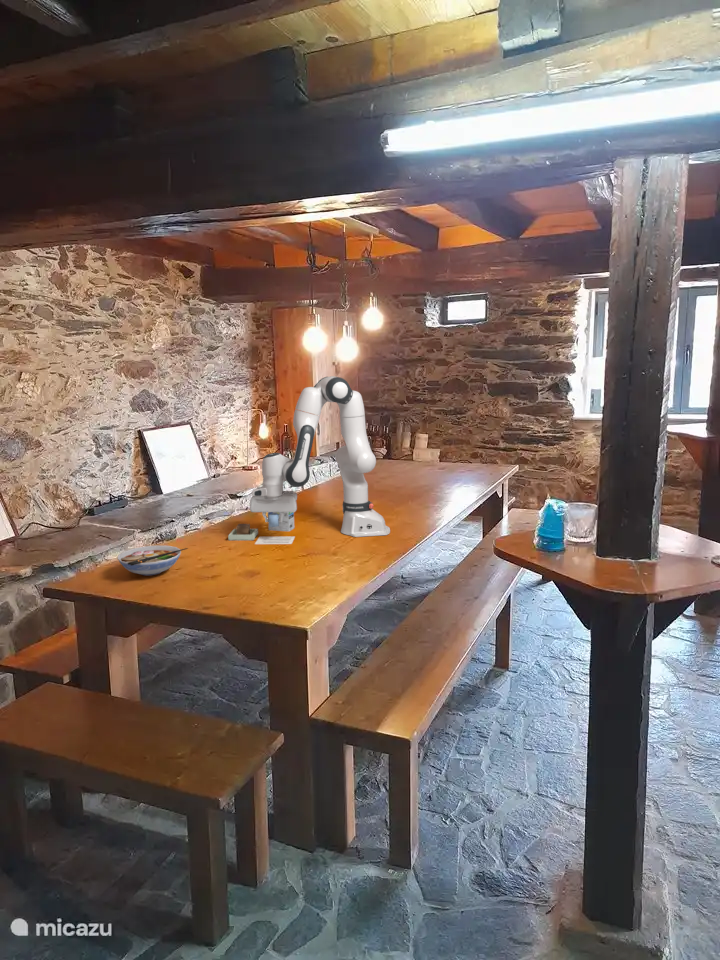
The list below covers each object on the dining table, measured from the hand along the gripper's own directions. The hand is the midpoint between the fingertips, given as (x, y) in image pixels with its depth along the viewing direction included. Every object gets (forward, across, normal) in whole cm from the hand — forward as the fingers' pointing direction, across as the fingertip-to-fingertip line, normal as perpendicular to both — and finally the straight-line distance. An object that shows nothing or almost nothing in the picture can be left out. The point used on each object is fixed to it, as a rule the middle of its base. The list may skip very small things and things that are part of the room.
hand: (273, 522), depth 286 cm
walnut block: (+8, +15, -6) cm, 18 cm away
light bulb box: (+9, 0, -19) cm, 21 cm away
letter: (+8, 0, 0) cm, 8 cm away
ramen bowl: (+9, +40, +43) cm, 59 cm away
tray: (+8, +15, -6) cm, 18 cm away
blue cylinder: (+2, 0, 0) cm, 2 cm away
